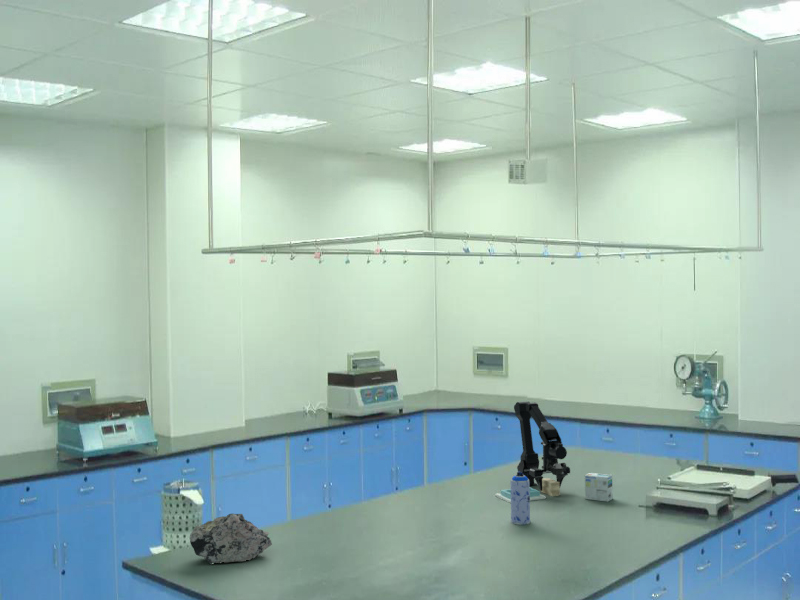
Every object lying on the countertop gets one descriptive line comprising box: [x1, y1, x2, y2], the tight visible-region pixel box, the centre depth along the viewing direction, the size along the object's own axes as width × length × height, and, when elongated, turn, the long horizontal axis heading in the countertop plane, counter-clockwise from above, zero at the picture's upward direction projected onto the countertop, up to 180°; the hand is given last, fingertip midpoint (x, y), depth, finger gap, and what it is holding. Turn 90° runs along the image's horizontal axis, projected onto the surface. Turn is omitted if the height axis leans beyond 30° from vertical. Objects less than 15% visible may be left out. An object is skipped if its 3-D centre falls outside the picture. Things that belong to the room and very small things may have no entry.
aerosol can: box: [510, 471, 531, 526], centre depth 333 cm, size 8×8×20 cm
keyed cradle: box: [494, 486, 547, 504], centre depth 373 cm, size 14×18×3 cm
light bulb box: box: [584, 472, 614, 502], centre depth 368 cm, size 11×7×11 cm, turn 58°
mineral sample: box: [189, 513, 273, 565], centre depth 292 cm, size 27×19×15 cm
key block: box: [540, 477, 561, 497], centre depth 380 cm, size 10×4×6 cm, turn 21°
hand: (549, 489), depth 380 cm, fingers open, 9 cm apart
